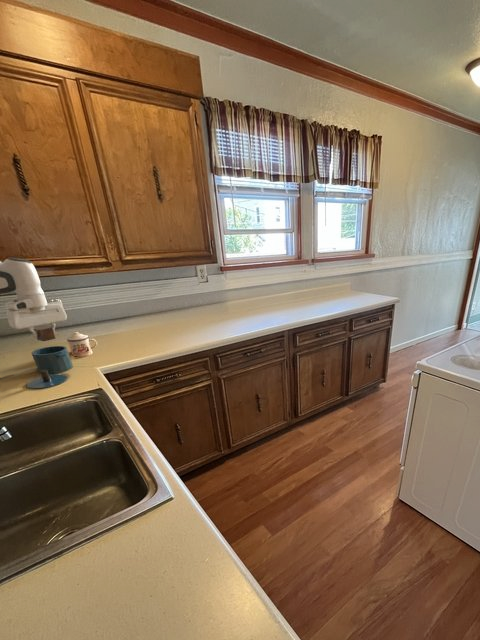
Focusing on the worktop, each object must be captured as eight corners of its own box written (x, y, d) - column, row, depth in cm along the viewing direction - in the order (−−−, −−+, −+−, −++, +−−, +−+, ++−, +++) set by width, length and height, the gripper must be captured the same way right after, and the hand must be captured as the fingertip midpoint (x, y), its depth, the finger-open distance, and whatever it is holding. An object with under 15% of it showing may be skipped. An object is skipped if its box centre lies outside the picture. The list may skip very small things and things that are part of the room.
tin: (53, 378, 137) (45, 357, 133) (30, 371, 145) (21, 351, 140) (82, 369, 147) (76, 349, 143) (59, 362, 155) (52, 343, 150)
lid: (39, 393, 125) (34, 379, 123) (20, 386, 131) (14, 373, 128) (75, 380, 136) (70, 367, 133) (56, 374, 141) (51, 362, 139)
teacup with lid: (72, 358, 160) (64, 335, 154) (72, 353, 166) (64, 331, 161) (100, 354, 166) (93, 331, 160) (98, 349, 172) (92, 328, 167)
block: (43, 341, 136) (39, 330, 134) (37, 339, 138) (33, 328, 136) (55, 338, 140) (52, 327, 137) (49, 337, 142) (45, 326, 139)
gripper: (55, 297, 141) (65, 328, 147) (-1, 304, 125) (13, 339, 131) (64, 298, 139) (74, 330, 145) (8, 306, 122) (21, 342, 129)
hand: (44, 335), depth 138 cm, fingers closed on block, 5 cm apart
